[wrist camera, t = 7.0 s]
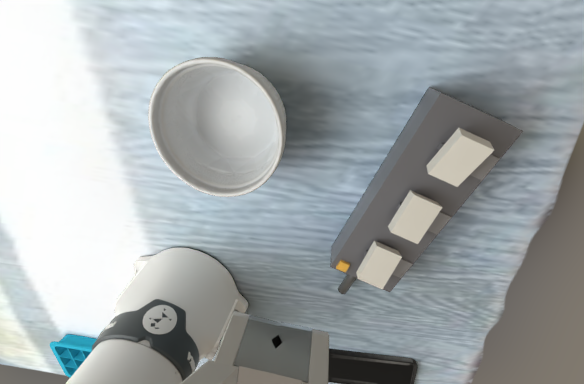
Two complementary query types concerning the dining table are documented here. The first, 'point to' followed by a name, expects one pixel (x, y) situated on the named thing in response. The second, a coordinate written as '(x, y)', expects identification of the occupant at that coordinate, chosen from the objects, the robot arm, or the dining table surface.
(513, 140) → the power strip
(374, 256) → the rocker
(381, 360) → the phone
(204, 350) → the robot arm
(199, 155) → the ramekin
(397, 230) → the rocker
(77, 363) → the ice cube tray
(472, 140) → the block
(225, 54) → the dining table surface
